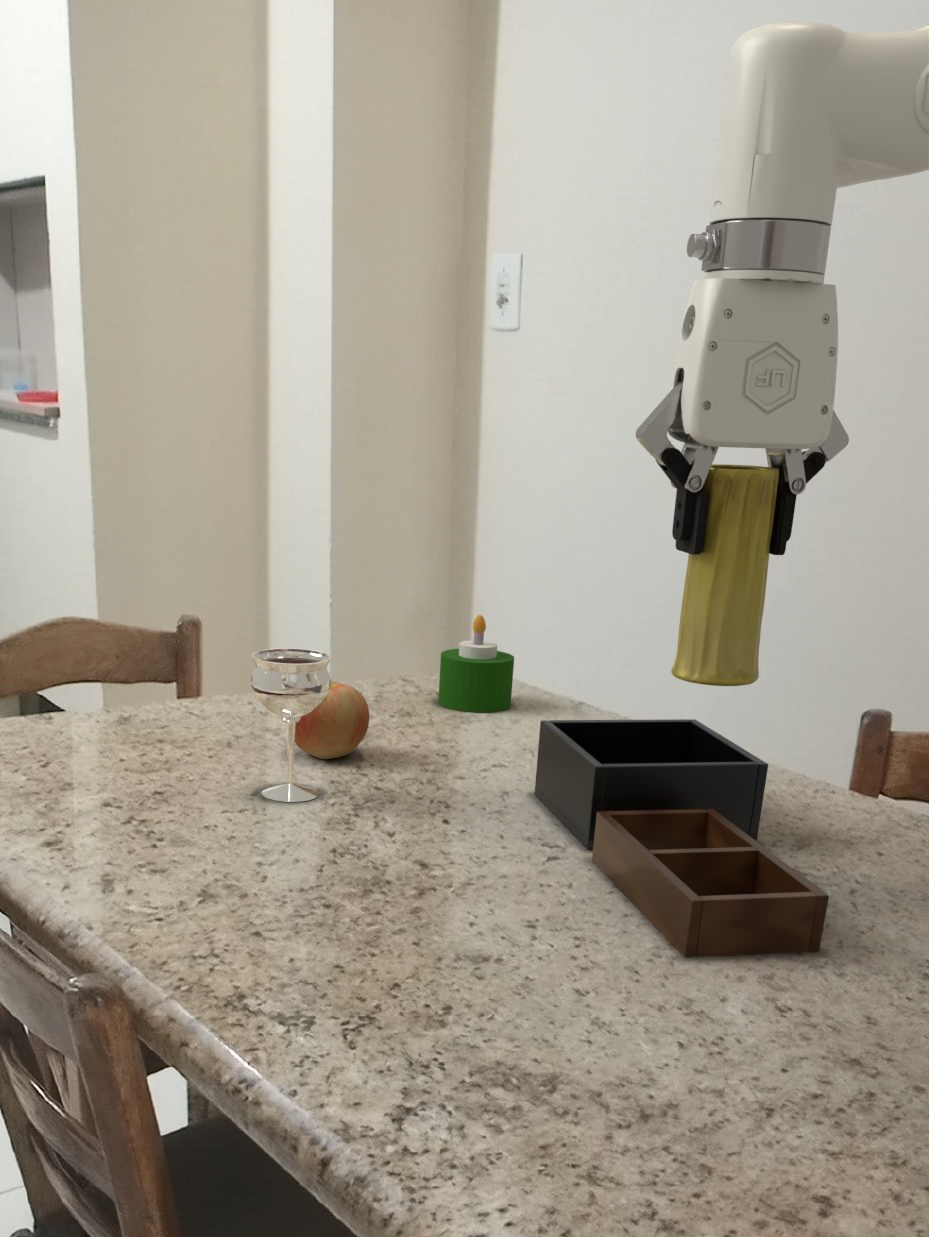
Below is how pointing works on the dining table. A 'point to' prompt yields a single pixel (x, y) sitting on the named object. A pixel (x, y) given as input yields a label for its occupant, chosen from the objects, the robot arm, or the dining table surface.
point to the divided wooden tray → (708, 883)
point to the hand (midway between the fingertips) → (729, 549)
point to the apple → (334, 724)
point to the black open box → (644, 772)
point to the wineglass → (291, 700)
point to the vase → (728, 579)
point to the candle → (476, 675)
